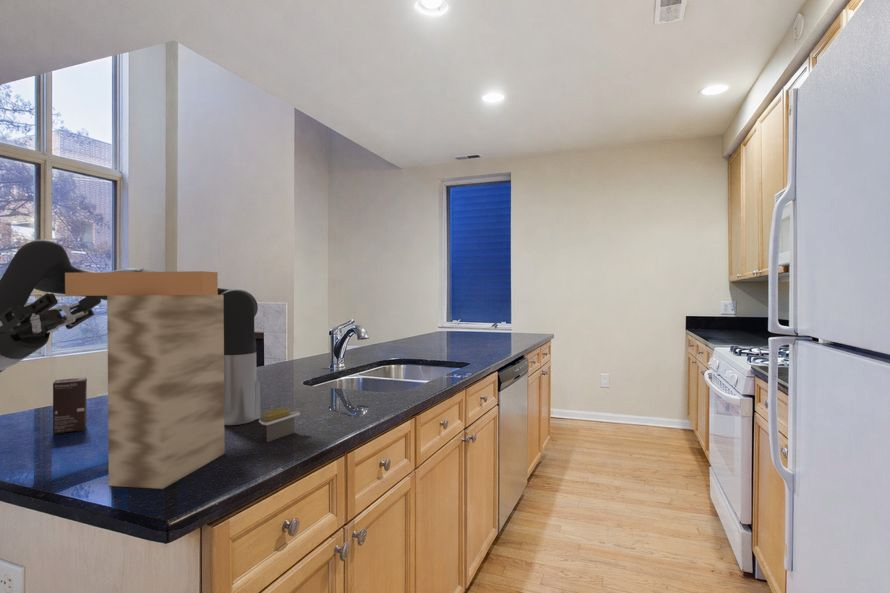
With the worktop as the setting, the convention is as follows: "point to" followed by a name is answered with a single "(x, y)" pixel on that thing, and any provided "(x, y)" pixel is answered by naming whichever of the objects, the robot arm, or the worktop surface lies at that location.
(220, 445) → the tall wooden block
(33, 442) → the worktop surface
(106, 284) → the rail
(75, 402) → the box
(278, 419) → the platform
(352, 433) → the worktop surface
